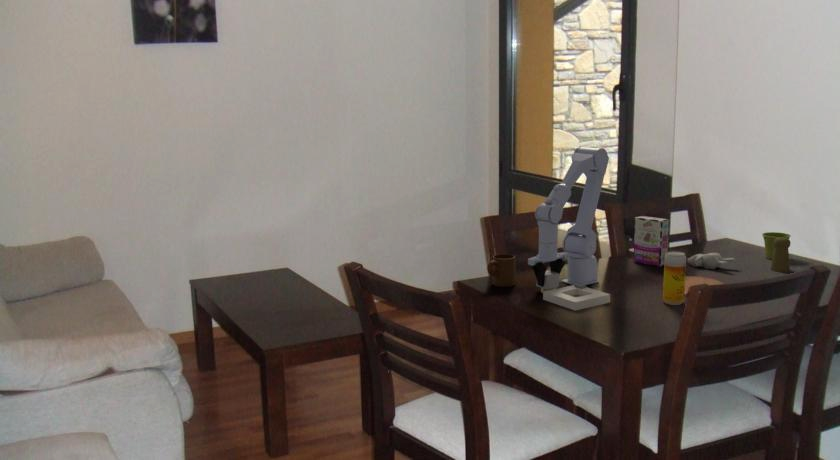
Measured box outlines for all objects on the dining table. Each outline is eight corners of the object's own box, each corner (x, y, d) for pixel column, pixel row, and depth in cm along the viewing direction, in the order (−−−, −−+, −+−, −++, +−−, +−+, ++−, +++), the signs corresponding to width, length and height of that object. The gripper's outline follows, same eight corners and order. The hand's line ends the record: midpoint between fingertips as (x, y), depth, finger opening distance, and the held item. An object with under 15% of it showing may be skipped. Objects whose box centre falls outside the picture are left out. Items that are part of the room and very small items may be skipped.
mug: (497, 291, 260) (497, 262, 258) (479, 287, 265) (478, 259, 263) (520, 284, 268) (520, 255, 266) (501, 280, 273) (501, 252, 272)
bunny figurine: (696, 250, 293) (737, 252, 282) (697, 264, 293) (738, 266, 283) (683, 255, 286) (724, 257, 276) (684, 269, 287) (725, 272, 276)
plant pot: (754, 257, 298) (756, 233, 297) (773, 254, 302) (775, 231, 300) (775, 262, 290) (777, 238, 288) (794, 259, 294) (796, 235, 292)
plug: (548, 288, 263) (548, 270, 261) (558, 291, 258) (559, 273, 257) (536, 290, 260) (536, 272, 259) (546, 294, 256) (547, 275, 255)
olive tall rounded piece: (770, 271, 279) (772, 239, 276) (770, 267, 284) (772, 235, 282) (790, 272, 276) (792, 240, 274) (789, 268, 282) (791, 236, 280)
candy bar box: (668, 264, 290) (670, 218, 286) (660, 267, 286) (662, 221, 283) (640, 259, 298) (642, 215, 294) (632, 262, 294) (634, 216, 291)
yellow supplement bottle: (680, 306, 241) (683, 256, 238) (660, 303, 244) (662, 254, 241) (686, 301, 246) (688, 252, 243) (665, 298, 249) (668, 250, 246)
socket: (577, 292, 258) (577, 281, 257) (609, 302, 246) (610, 291, 246) (543, 299, 251) (543, 289, 250) (575, 310, 239) (575, 299, 238)
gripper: (557, 236, 263) (556, 278, 266) (521, 242, 256) (521, 285, 258) (572, 240, 257) (571, 282, 260) (536, 246, 250) (536, 290, 252)
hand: (547, 284), depth 259 cm, fingers closed on plug, 5 cm apart
